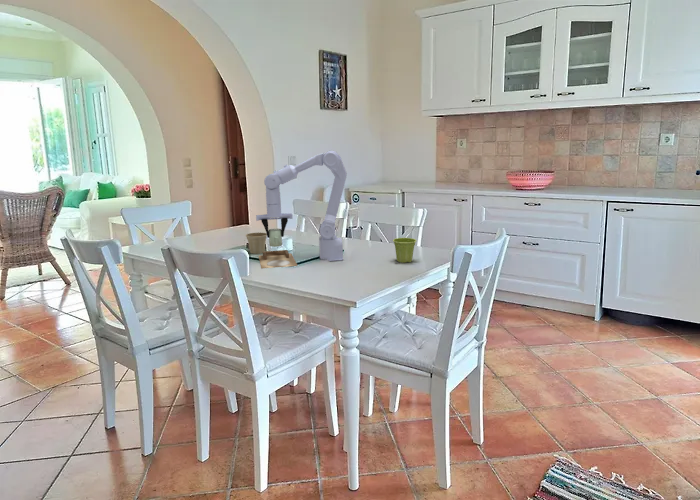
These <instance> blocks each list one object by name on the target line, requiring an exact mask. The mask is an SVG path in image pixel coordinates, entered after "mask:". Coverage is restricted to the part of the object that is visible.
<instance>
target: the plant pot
mask: <svg viewBox="0 0 700 500" xmlns="http://www.w3.org/2000/svg"><path fill="white" fill-rule="evenodd" d="M392 242H393V244H394V249H395V257H396V261H397V262H398V263H404V264H405V263H411V262H412V261H413V255H414V251H415V250H414V249H415V246H416V242H417V239H416V238H412V237H397V238H394V239H392Z"/></svg>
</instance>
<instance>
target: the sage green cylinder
mask: <svg viewBox="0 0 700 500" xmlns="http://www.w3.org/2000/svg"><path fill="white" fill-rule="evenodd" d="M268 231H269V238H268V243H269V246H270V247H272V248H273V247H275V248H278V247H282V246H283V237H282V231H281V228H270V229H268Z"/></svg>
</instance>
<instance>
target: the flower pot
mask: <svg viewBox="0 0 700 500" xmlns="http://www.w3.org/2000/svg"><path fill="white" fill-rule="evenodd" d="M245 237H246V239H247V243H248V244H247V245H248V248H249V252H250V254H254V255H258V254H259V255H260V254H263V251H266V244H267V243H266V242H267V241H266V240H267V239H268V238H267V233H266V232H249V233H246V234H245Z"/></svg>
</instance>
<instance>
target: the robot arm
mask: <svg viewBox="0 0 700 500" xmlns="http://www.w3.org/2000/svg"><path fill="white" fill-rule="evenodd" d="M315 166H325V167H327V168H328V169H329V170H330V172H331V173H332V175H333V176H334V179H333V183H332V187H331V191H330V196H329V200H328V204H327V208H326V213H325V217H324V219H323V221H322V222H321V224H320V227H319V231H318V232H319V235H320V236H318V246H319V259H321V260H324V261H325V260H327V261H328V262H333V261H335V262H337V261H344V252H343V249H344V248H343V247H344V245H343V239H342V237H338V236H337V235H336V227H337V226H336V219H337V214H338V211H339V207H340V204H341V201H342V200H341V199H342V195H343V191H344V187H345V183H346V179H347V174H348V173H347V171H346V167H345V165H344V161H343V159H342V157H341V155H340V154H338V152H337V151H335V150H332V149H331V150H328V151H326V152H322V153H318V154H315V155H313V156H312V157H309V158H307V159H306V160H304V161H302V162H300V163H298V164H295V165H292V164H289V165H288V164H284V165H283V167H282V168H281V169H279V170H273V172H272V173H269V174H268V175H266V176H265V178H264V182H263V183H264V186H265V200H266V201H265V202H266V213H265V214H257V215H255V219H256V222H257V221H261V223H262V224H261V225H263V227H264V229H265V233H267V238H266V239H269V221H271V220H280V225H281V226H280V227H281V228H280V229H281V231H282V238H284V237H285V236H284V235H285V230H286V227H287V224H288V219H289V220H291V219H292V220H293V213H289V212H288V213H282V204H281V202H282V201H281V192H280V190H281V189H280V185H284V184H286V183H288V182H291V181H292V180H294V179H296V178H297V177H298V174H299V173H301V172H304V171H306V170H308V169H311V168H312V167H315Z"/></svg>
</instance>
